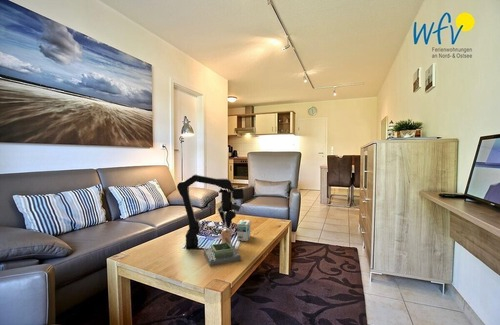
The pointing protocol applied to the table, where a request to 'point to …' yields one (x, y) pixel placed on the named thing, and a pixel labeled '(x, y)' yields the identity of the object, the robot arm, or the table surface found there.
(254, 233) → the table surface
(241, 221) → the light bulb box
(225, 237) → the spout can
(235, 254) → the gearbox housing
